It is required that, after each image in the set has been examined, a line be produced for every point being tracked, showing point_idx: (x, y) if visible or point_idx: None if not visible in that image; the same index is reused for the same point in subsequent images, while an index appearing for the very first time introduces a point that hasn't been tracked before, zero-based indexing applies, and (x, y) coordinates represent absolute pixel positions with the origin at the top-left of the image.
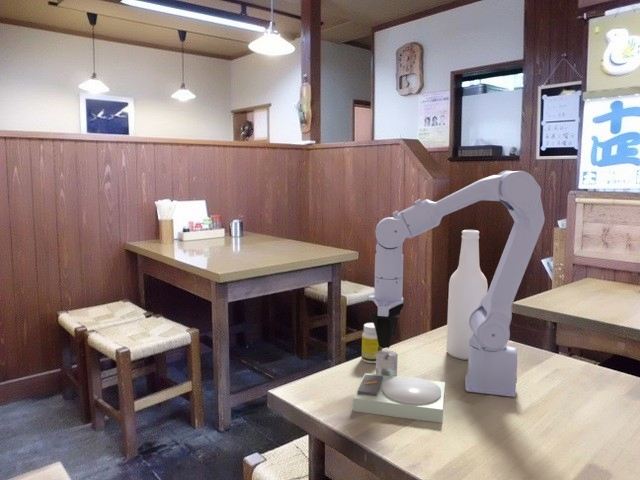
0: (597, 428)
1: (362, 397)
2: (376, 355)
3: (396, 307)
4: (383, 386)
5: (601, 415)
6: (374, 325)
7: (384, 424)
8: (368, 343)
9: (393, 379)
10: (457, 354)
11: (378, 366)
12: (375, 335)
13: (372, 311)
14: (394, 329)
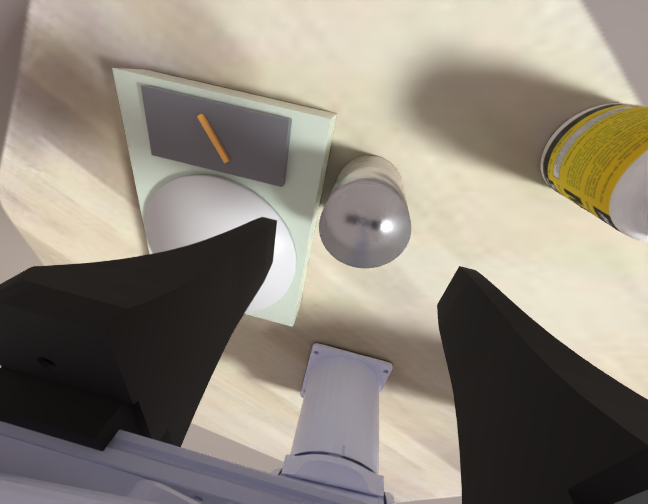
0: (232, 422)
1: (133, 104)
2: (361, 184)
3: (488, 501)
4: (209, 180)
5: (267, 438)
6: (142, 256)
7: (119, 160)
8: (611, 153)
9: (268, 216)
10: None
11: (342, 179)
12: (636, 207)
13: (88, 338)
14: (445, 330)
